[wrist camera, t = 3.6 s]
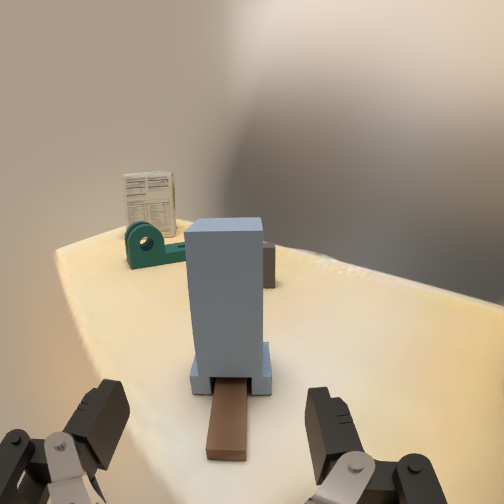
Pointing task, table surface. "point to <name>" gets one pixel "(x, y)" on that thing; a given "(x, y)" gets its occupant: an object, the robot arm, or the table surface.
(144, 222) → the bracket
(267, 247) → the stop block
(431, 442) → the table surface
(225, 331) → the block
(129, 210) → the supplement box
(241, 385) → the rail
